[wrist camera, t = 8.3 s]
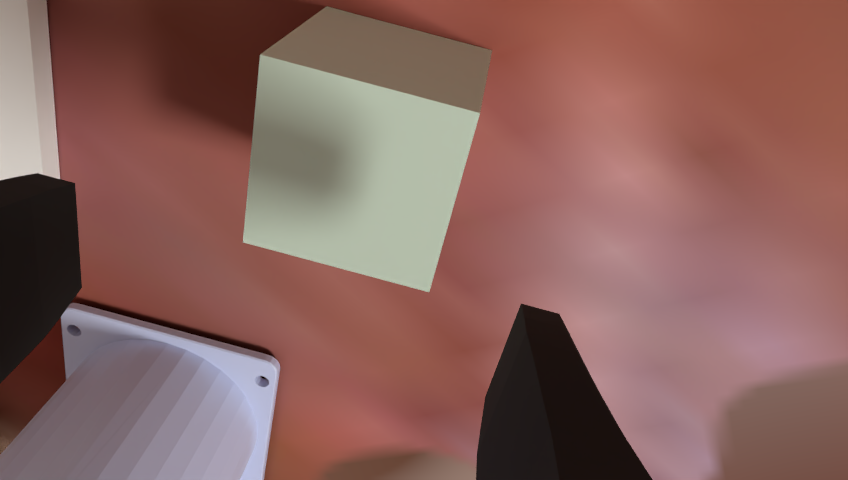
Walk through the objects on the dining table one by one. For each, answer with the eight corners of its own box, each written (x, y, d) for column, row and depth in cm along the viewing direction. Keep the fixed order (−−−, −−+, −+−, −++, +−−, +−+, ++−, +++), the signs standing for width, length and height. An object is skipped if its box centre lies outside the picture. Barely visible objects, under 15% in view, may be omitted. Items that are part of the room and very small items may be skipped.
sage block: (451, 197, 19) (429, 292, 15) (305, 158, 20) (243, 242, 15) (492, 49, 17) (479, 113, 13) (327, 5, 17) (260, 54, 13)
